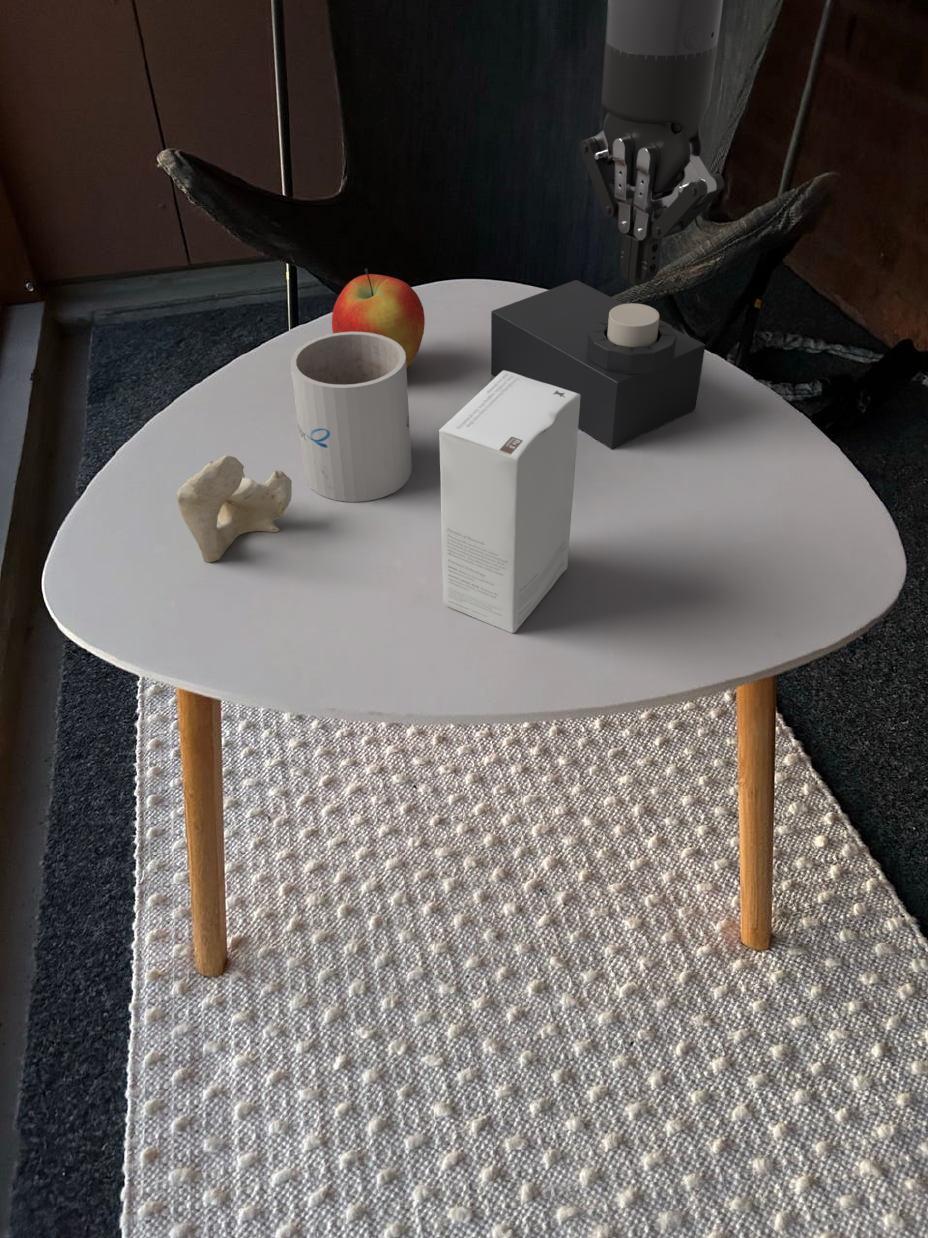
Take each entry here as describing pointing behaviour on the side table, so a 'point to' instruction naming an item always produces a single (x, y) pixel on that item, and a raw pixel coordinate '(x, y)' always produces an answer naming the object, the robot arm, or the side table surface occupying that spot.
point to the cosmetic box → (507, 497)
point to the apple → (381, 311)
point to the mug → (353, 415)
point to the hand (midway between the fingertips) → (637, 279)
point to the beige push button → (633, 325)
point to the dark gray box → (597, 361)
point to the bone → (230, 504)
